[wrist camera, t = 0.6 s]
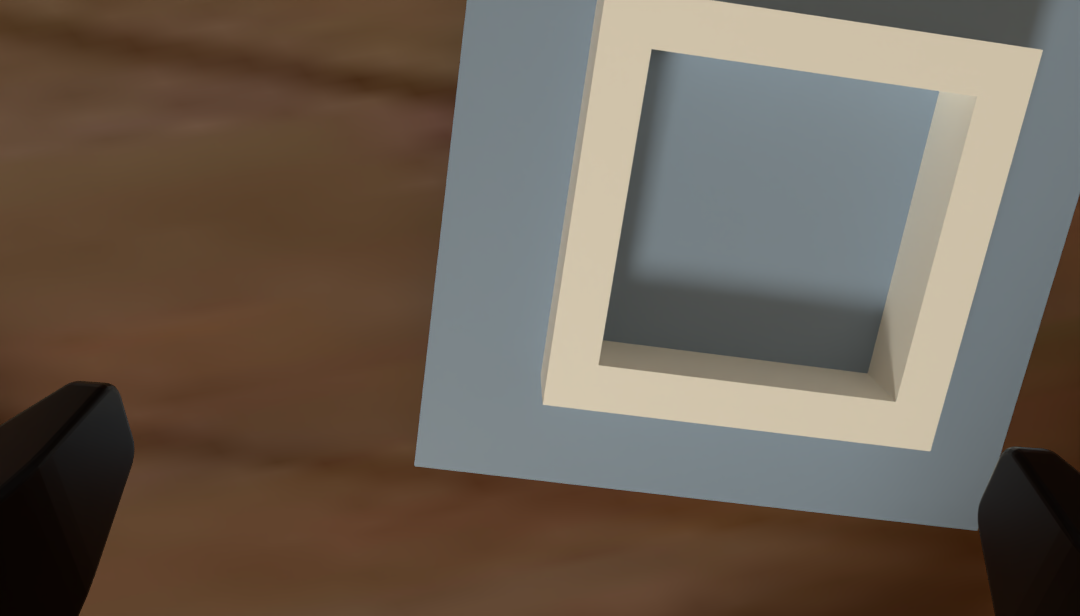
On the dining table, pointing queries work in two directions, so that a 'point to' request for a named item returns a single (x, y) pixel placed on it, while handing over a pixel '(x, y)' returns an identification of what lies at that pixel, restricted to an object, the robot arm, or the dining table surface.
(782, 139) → the socket
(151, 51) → the dining table surface
